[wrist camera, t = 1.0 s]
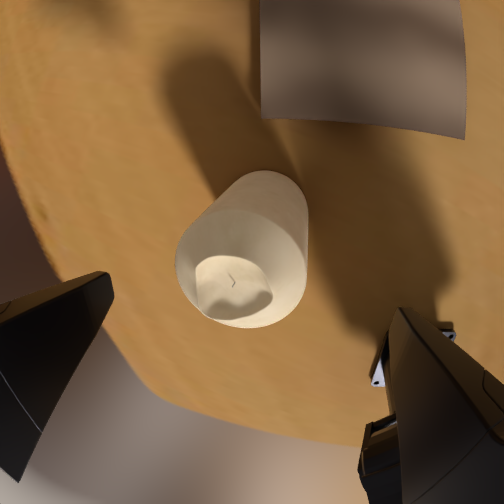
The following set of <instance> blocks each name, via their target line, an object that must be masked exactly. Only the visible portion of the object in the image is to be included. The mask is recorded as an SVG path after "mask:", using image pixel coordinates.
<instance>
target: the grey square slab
mask: <svg viewBox="0 0 504 504" xmlns="http://www.w3.org/2000/svg"><path fill="white" fill-rule="evenodd" d="M260 63H261V119H305V120H324V121H338V122H350V123H360V124H370V125H378V126H386V127H394V128H401V129H408V130H414V131H420V132H426V133H431V134H437V135H442V136H447V137H452V138H457V139H461V140H465V128H466V100H467V83H466V56H465V42H464V31H463V22H462V15H461V8H460V1H459V0H260Z"/></svg>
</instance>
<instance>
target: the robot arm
mask: <svg viewBox="0 0 504 504" xmlns="http://www.w3.org/2000/svg"><path fill="white" fill-rule="evenodd" d="M113 300H114V291H113V286H112V281H111V277H110V275H109V273H107V272H102V271H96V272H93V273H90V274H87V275H84V276H81V277H78V278H75V279H72V280H69V281H66V282H63V283H60V284H57V285H54V286H51V287H48V288H45V289H42V290H39V291H37V292H34V293H31V294H28V295H25V296H22V297H20V298H17V299H14V300H12V301H8V302H5V303H2V304H0V469H1V470H2V471H3V472H5V473H6V474H7V475H8V476H10V477H11V478H12V479H13V480H15V481H16V482H17V483H19V481H20V480H21V478H22V475H23V473H24V471H25V468H26V466H27V464H28V462H29V460H30V457H31V455H32V453H33V451H34V449H35V447H36V445H37V443H38V441H39V438H40V436H41V434H42V432H43V430H44V428H45V426H46V424H47V422H48V420H49V418H50V416H51V414H52V412H53V410H54V409H55V407H56V405H57V403H58V401H59V399H60V397H61V395H62V394H63V392H64V390H65V388H66V386H67V385H68V383H69V381H70V379H71V377H72V376H73V374H74V372H75V370H76V369H77V367H78V365H79V363H80V362H81V360H82V358H83V357H84V355H85V353H86V352H87V350H88V348H89V347H90V345H91V343H92V342H93V340H94V338H95V337H96V335H97V333H98V331H99V329H100V327H101V325H102V323H103V321H104V319H105V317H106V315H107V313H108V311H109V309H110V307H111V305H112V303H113ZM451 334H452V335H451ZM449 335H450V336H449ZM455 337H456V333H455V331H454V330H453V329H437V328H436V327H435V326H433V325H432V324H431V323H430V322H428V321H427V320H426V319H425V318H423V317H422V316H421V315H420V314H418V313H417V312H416V311H414V310H413V309H412V308H410V307H398V308H397V309H396V311H395V314H394V317H393V320H392V323H391V326H390V330H388V331H387V333H386V336H385V339H384V342H383V345H382V348H381V352H380V355H379V358H378V361H377V364H376V367H375V370H374V372H373V375H372V378H371V385H372V386H375V387H379V386H385V387H386V393H387V399H388V406H389V412H390V415H389V416H387V417H385V418H382V419H380V420H378V421H376V422H371V423H368V424H366V428H365V433H364V438H363V443H362V448H361V454H360V458H359V464H358V473H359V477H360V480H361V483H362V485H363V488H364V489H365V491H366V492H367V496H368V500H369V504H504V385H503V384H502V383H501V382H500V381H499V380H498V379H496V378H495V377H494V376H493V375H492V374H491V373H489V372H488V371H487V370H484V367H482V366H481V365H480V364H479V363H478V362H477V361H475V360H474V359H473V358H472V357H471V356H470V355H468V354H467V353H466V352H465V351H464V350H462V349H461V348H460V347H459V346H458V345H456V344H455V343H454V340H455Z"/></svg>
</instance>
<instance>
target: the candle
mask: <svg viewBox="0 0 504 504" xmlns="http://www.w3.org/2000/svg"><path fill="white" fill-rule="evenodd" d="M307 258H308V206H307V202H306V199H305V196H304V194H303V193H302V191H301V189H300V188H299V187H298V186H297V185H296V183H295V182H293V181H292V180H291V179H290V178H288V177H287V176H285V175H283V174H280V173H277V172H274V171H255V172H251V173H249V174H246V175H244V176H242V177H241V178H239V179H238V180H237V181H235V182H234V183H233V184H232V185H231V186H230V187H229V188H228V189H227V190H226V191H225V192H224V193H223V194H222V195H221V196H220V197H219V198H218V199H217V200H216V201H214V202H213V203H212V204H211V205H210V206H209V207H208V208H207V209H206V210H205V211H204V212H203V213H202V214H201V215H200V216H199V217H198V218H197V219H196V220H195V221H194V222H193V223H192V224H191V225H190V227H189V228H188V229H187V230H186V231H185V232H184V234H183V235H182V237H181V239H180V241H179V243H178V246H177V250H176V255H175V269H176V275H177V278H178V281H179V284H180V286H181V288H182V290H183V292H184V294H185V295H186V296H187V298H188V299H189V301H190V302H191V303H192V304H193V305H194V306H195V307H196V308H197V309H198V310H200V311H201V312H202V314H203V315H204V316H206V317H208V318H211V319H213V320H215V321H218V322H220V323H222V324H225V325H229V326H233V327H240V328H256V327H262V326H267V325H270V324H273V323H275V322H277V321H279V320H281V319H283V318H284V317H285V316H287V315H288V314H289V313H290V312H291V311H292V310H293V309H294V308H295V307H296V306H297V305H298V303H299V301H300V300H301V298H302V296H303V293H304V290H305V286H306V280H307Z"/></svg>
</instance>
